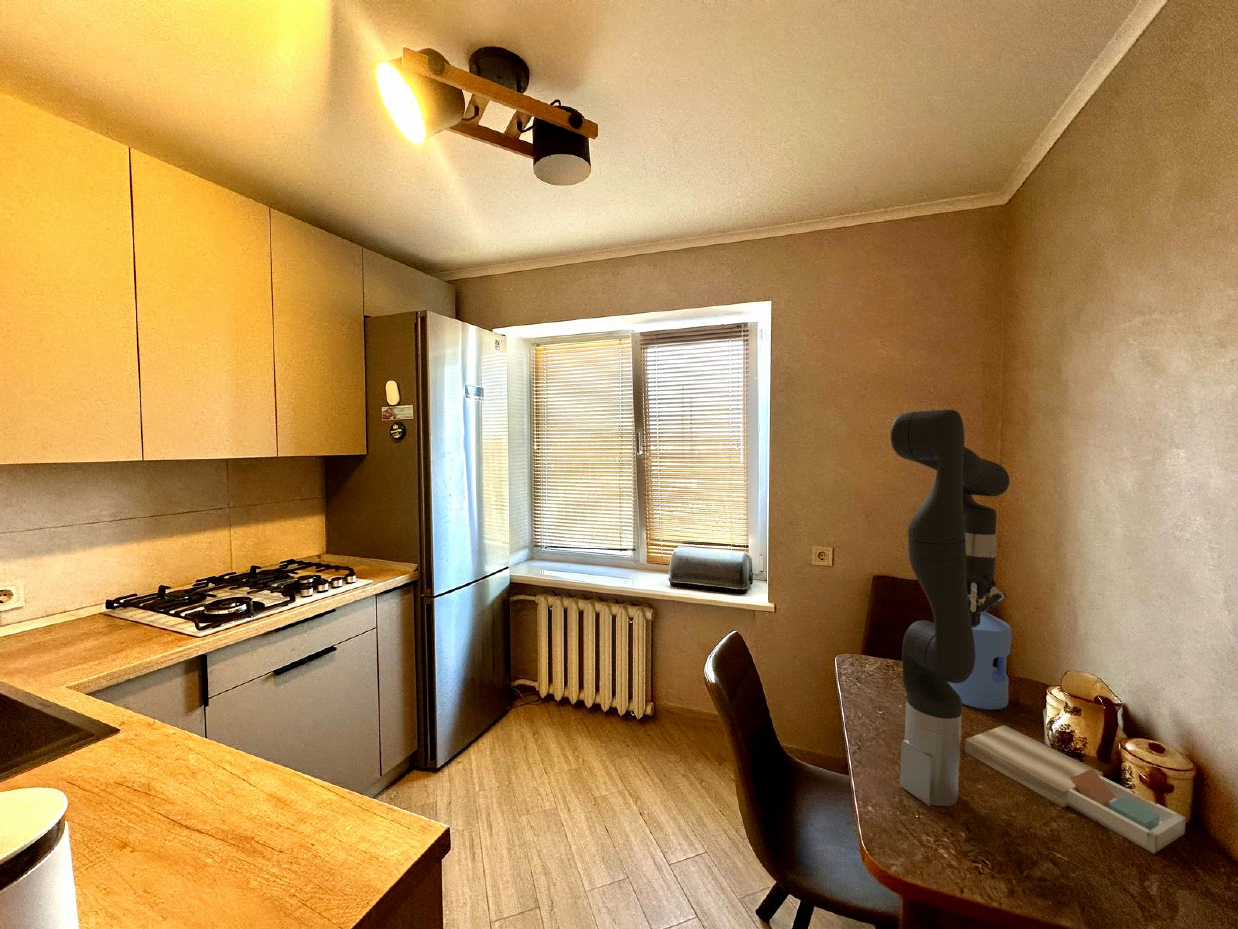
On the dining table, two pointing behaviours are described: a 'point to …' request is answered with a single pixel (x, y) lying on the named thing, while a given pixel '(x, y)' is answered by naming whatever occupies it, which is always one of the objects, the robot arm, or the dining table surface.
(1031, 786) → the birch board
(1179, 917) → the dining table surface
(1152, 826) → the teal tile
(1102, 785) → the terracotta tile
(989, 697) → the water jug
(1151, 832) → the box
